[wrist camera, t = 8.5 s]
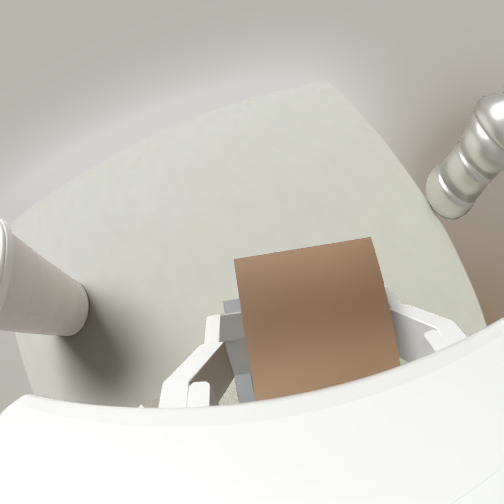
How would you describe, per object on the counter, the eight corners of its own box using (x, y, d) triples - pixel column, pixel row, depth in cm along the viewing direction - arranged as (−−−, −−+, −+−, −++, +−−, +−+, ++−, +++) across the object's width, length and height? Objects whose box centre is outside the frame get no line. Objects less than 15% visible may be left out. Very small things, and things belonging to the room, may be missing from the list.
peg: (331, 362, 14) (401, 371, 6) (261, 376, 14) (256, 407, 6) (318, 295, 16) (370, 237, 8) (250, 307, 15) (233, 259, 7)
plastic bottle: (445, 234, 26) (553, 127, 8) (410, 192, 29) (492, 63, 10) (466, 210, 28) (554, 113, 9) (434, 172, 30) (505, 61, 11)
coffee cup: (103, 265, 27) (9, 196, 13) (99, 353, 24) (-17, 335, 10) (46, 269, 27) (-40, 217, 13) (40, 345, 24) (-59, 321, 10)
